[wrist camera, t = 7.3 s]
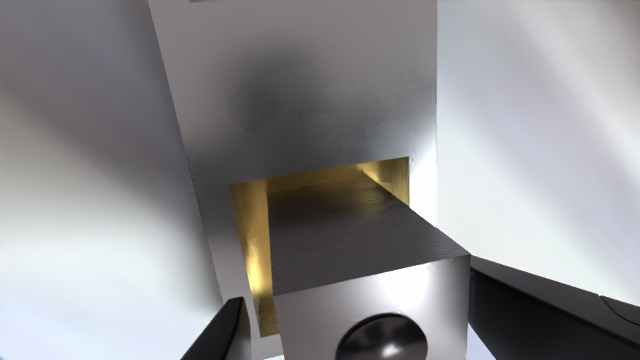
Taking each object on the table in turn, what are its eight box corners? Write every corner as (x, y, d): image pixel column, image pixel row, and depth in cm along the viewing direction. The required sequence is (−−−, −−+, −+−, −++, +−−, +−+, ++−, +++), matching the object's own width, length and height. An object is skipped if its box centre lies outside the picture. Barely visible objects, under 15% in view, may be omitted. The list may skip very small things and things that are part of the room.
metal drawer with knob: (369, 176, 12) (473, 256, 6) (374, 264, 13) (467, 402, 7) (266, 193, 11) (273, 300, 5) (282, 284, 12) (301, 451, 7)
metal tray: (396, -310, 8) (440, -439, 6) (410, 284, 14) (435, 317, 12) (89, -336, 7) (21, -507, 5) (241, 322, 13) (238, 365, 11)
